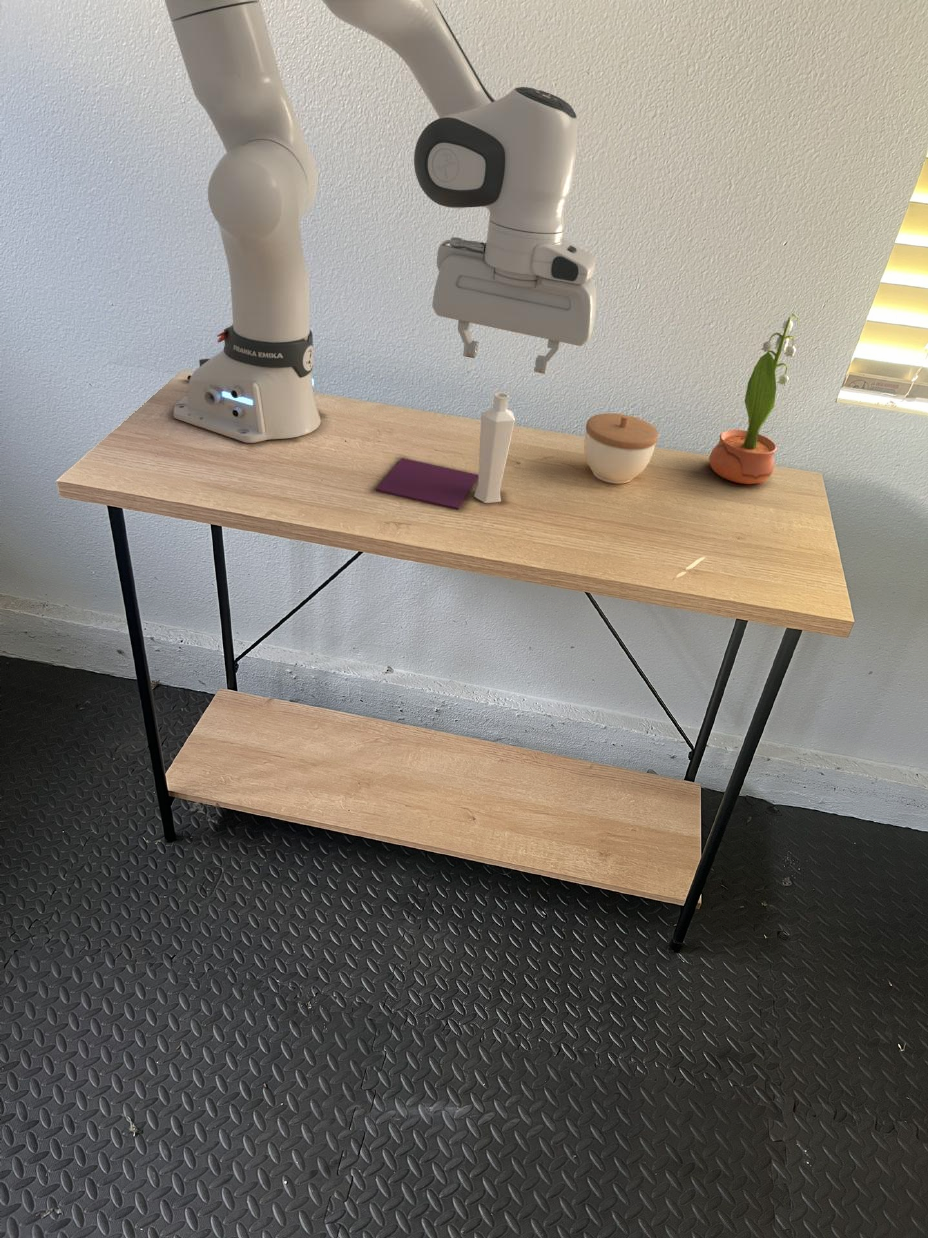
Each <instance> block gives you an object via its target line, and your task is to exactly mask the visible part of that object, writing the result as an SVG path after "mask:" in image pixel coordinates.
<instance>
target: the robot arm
mask: <svg viewBox="0 0 928 1238" xmlns="http://www.w3.org/2000/svg"><path fill="white" fill-rule="evenodd" d="M321 1H322V2H323V4H324V5H325V6H326V8H327V9H328V10H329V11H330V12H331V13H332V14H333V15H334V16H335V17H336V18H338V19H339V20H340V21H342V22H344V23H346V24H348V25H350V26H352V27H354V28H356V29H358V30H360V31H362V32H365V33H366V34H368V35H370V36H371V37H373V38H375V39H377V40H379V41H380V42H381V43H382V44H385V45H386V46H387V47H389V48H390V49H391V50H392V51H393V52H395V54H397V55H398V56H399V57H400V58H401V59H402V61H403V62H404V63H405V64H406V65H407V67H408V68H409V70H410V71H411V73H412V75H413V76H414V78H415V79H416V81H417V83H418V84H419V87H420V88H421V89H422V91H423V93H424V94H425V96H426V98H427V99H428V101H429V103H430V104H431V106H432V108H433V110H434V111H435V113H436V114H437V116H438V118H437V119H435V120H433V121H431V122H430V123H428V125H427V126H426V127H424V129H423V130H422V131H421V133H420V135H419V136H418V139H417V141H416V144H415V147H414V152H413V166H414V173H415V177H416V180H417V182H418V184H419V186H420V188H421V190H422V192H423V193H424V194H425V195H426V197H427V198H428V199H430V201H432V202H433V203H435V204H437V205H439V206H441V207H446V208H450V209H466V208H480V207H481V208H485V209H487V210H488V212H489V218H488V226H487V233H486V241H485V242H483V241H477V240H468V239H463V238H461V237H456V236H454V237H453V236H452V237H451V238H450V239H447V240H444V241H442V243H440V245H439V247H438V249H437V255H436V267H437V271H438V274H437V278H436V282H435V285H434V289H433V290H434V291H433V296H432V302H431V303H432V304H431V306H432V309H433V311H434V313H435V315H436V316H438V317H442V318H445V319H450V320H455V321H458V322H457V332H458V333H459V336H460V338H461V342H462V343H463V352H462V356H463V357H466V358H470V359H476V357H477V355H478V348H479V341H477V340H474V339H473V336H472V334H471V330H470V329H471V328H472V327H473V324H475V325H480V326H484V327H489V328H493V329H497V330H502V331H506V332H507V331H508V332H511V333H517V334H522V335H525V336H531V337H536V338H540V339H545V340H547V348H548V349H549V351H547V353H546V354H545V355H541V354H538V355H537V357H536V358H535V362H534V365H535V366H534V369H533V372H534V373H538V374H543V375H546V373H547V372H548V368H549V363H550V360H551V359H552V358H553V356H555V354H556V353H557V352H558V351H559V349H560V348H561V346H562V344H563V343H564V344H568V345H573V346H578V347H582V346H584V344H586V343H588V342H589V340H590V339H591V338H592V334H593V331H594V325H595V319H596V312H597V311H596V310H597V288H596V285H595V283H594V280H593V279H592V276H593V275H594V272H595V269H596V262H597V261H596V258H595V256H594V255H593V254H591V253H590V252H588V251H587V250H584V249H582V248H581V247H580V246H577V245H576V244H573V243H572V242H570V241H569V240H567V239H566V238H564V237H563V236H564V229H565V218H564V217H565V216H564V214H565V213H564V212H565V206H566V202H567V200H568V197H569V195H570V192H571V189H572V187H573V180H574V179H573V178H574V174H575V167H576V158H577V151H578V150H577V149H578V138H579V123H578V116H577V114H576V112H575V110H574V109H573V107H572V106H571V104H569V102H567V101H565V100H564V99H562V98H561V97H559V96H556V95H555V94H553V93H549V92H547V91H544V90H540V89H536V88H533V87H528V86H520V87H519V86H517V87H515V88H513V89H512V90H511V91H509V92H508V94H506V95H504V96H503V97H501V98H499V99H497V100H496V99H495V98H494V97H492V95H491V94H490V93H489V92H488V90H487V88H486V87H485V86H484V84H483V82H482V81H481V79H480V77H479V75H478V74H477V72H476V70H475V69H474V67H473V64H472V63H471V61H470V60H469V58H468V56H467V55H466V52H465V51H464V49H463V48H462V46H461V44H460V42H459V41H458V40H459V39H458V38H457V37H456V35H455V34H454V32H453V30H452V28H451V26H450V24H449V23H448V21H447V19H446V18H445V16H444V15H443V13H442V11H441V10H440V8H439V6H438V4H437V2H436V1H435V0H321ZM164 3H165V6H166V9H167V13H168V17H169V20H170V22H171V26H172V30H173V32H174V35H175V38H176V41H177V44H178V47H179V48H178V49H179V50H180V54H181V57H182V60H183V63H184V66H185V69H186V72H187V75H188V78H189V81H190V84H191V88H192V91H193V94H194V96H195V98H196V100H197V101H198V103H199V104H200V105H201V107H203V109H204V111H205V112H206V114H207V115H208V117H209V119H210V121H211V122H212V125H213V127H214V129H215V131H216V133H217V135H218V136H219V139H220V140H221V143H222V144H223V147H224V149H225V152H226V153H225V154H224V155H223V156H222V157H221V158H220V160H218V161H217V162H218V163H217V164H216V166H215V167H214V169H213V171H212V174H211V176H210V179H209V181H208V186H207V200H208V205H209V208H210V211H211V213H212V215H213V217H214V219H215V220H216V222H217V224H218V229H219V232H220V237H221V241H222V245H223V250H224V254H225V258H226V262H227V267H228V273H229V282H230V297H231V298H230V299H231V313H232V314H231V315H232V325H230V326H228V327H226V328H224V329H223V331H222V332H221V333H219V334H217V335H216V337H218V339H217V343H222V342H224V346H223V350H221V351H220V352H218V353H217V354H215V355H214V356H212V357H211V358H201V359H199V361H198V362H199V367H198V368H196V369H195V370H194V371H193V373H192V374H189V375H187V380H188V386H187V394H186V395H185V396H184V397H182V398H181V399H180V400H178V401H177V402H176V403H175V405H174V407H173V418H174V419H176V420H179V421H182V422H185V423H187V424H190V425H193V426H196V427H199V428H202V429H205V430H208V431H210V432H213V433H216V434H220V435H222V436H225V437H228V438H231V439H233V440H237V441H239V442H243V443H246V444H254V443H260V442H263V441H268V440H284V439H293V438H297V437H298V438H299V437H303V436H305V435H309V434H310V433H312V432H314V431H315V430H317V429H318V428H319V427H320V425H321V424H322V423H321V422H322V420H321V416H320V413H319V410H318V406H317V401H316V396H315V391H314V385H315V384H314V381H315V380H314V378H313V373H312V371H313V367H314V339H313V331H312V330H311V328H310V327H311V326H310V323H311V322H310V321H311V319H310V314H311V313H310V312H311V310H310V306H311V304H310V298H311V297H310V295H311V294H310V293H311V291H310V275H309V273H308V270H307V267H306V261H305V255H304V250H303V249H304V248H303V242H302V232H301V224H302V216H304V215H305V214H306V213H307V212H308V211H309V210H310V208H311V207H312V206H313V204H314V202H315V200H316V197H317V193H318V187H319V170H318V165H317V163H316V160H315V158H314V156H313V154H312V153H311V151H310V149H309V146H308V143H307V141H306V138H305V134H304V133H303V130H302V126H301V125H300V122H299V119H298V117H297V115H296V111H295V110H294V107H293V104H292V102H291V100H290V98H289V96H288V92H287V90H286V88H285V85H284V82H283V80H282V77H281V73H280V70H279V67H278V63H277V59H276V56H275V52H274V48H273V45H272V41H271V37H270V33H269V30H268V27H267V23H266V19H265V15H264V12H263V8H262V4H261V2H260V0H164ZM448 244H449V245H448Z"/></svg>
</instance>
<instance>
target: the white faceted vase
mask: <svg viewBox="0 0 928 1238" xmlns="http://www.w3.org/2000/svg"><path fill="white" fill-rule="evenodd" d="M509 399H510V395H509V393H506V392H500V391H497V392H495V393H493V401H492V402H493V404H492V407H491V408H488V409H487V410H485V411H483V412H482V413H480V433H479V434H480V436H479V456H478V475H479V476H478V479H477V480H478V481H477V488H476V490H475V493H474V494H473V496H474V498H476V499H477V500H479V501H480V502H482V503H483V504H491V503H500V502H501V501H502V500H501V499H502V497H501V486H502V483H503V477H504V472H505V467H506V464H507V459H508V454H509V449H510V445H511V440H512V436H513V431H514V426H515V422H516V419H515V414H514V412H513V411H511V410H510V409H508V404H509Z"/></svg>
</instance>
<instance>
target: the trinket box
mask: <svg viewBox="0 0 928 1238" xmlns="http://www.w3.org/2000/svg"><path fill="white" fill-rule="evenodd" d="M658 439H659V431H658V429H657V428H656V427H655V426H654V425H653V424H651V423H650V422H648V421H646V420H644V419H641V418H639V417H636V416H632V415H628V414H623V413H599V414H594V415H592V416H591V417H589V418H588V419H587V421H586V424H585V434H584V440H583V441H584V442H583V453H584V458H585V461H586V464H587V466H588V467H589V469H590V470H591V471H592V474H593V476H594V477H595V478H597V479H598V480H600V481H602V482H605V483H609V484H616V485H617V484H619V485H620V484H621V485H622V484H627V483H629V482H631V481H632V480H633V479H634V478H636V477H638V476H639V475H641V474H642V473H643V471H645V469H646V468H647V466H648V465H649V463H650V461H651V459H652V456H653V454H654V451H655V447H656V444H657V442H658Z"/></svg>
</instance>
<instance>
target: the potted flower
mask: <svg viewBox="0 0 928 1238" xmlns="http://www.w3.org/2000/svg"><path fill="white" fill-rule="evenodd" d="M793 316H794V317H796V320H797V326H799V323H800V319H799V317H798V315H797V314H795V313H791V315H790V316H789V317H788V318H787V320H785V321H783V323H782V326H781V329H783V333H782V334H781V333H780V332H774V333H773V334H771V336H770V338H769V340H767V341H764V342H763V344H762V348H761V350H762V351H763V353H765V354H763V355H762V356H760V357H759V359H758V361H757V363H756V364H755V365H754V366H753V367H754V368H753V370H752V372H751V375H750V377H749V380H748V382H747V386H746V391H745V396H744V405H745V408H746V413H747V419H748V426H747V430H745V429H729V430H725V431H722V432H721V433H720V435H719V441H718V443H717V444H716V445H715V446H714V447H713V449H712V450H711V452H710V454H709V457H708V462H709V464H710V468H711V469H712V471H713V472H714V473H716V474H717V475H718V476H719V477H721V478H723V479H724V480H727V481H730V482H733V483H736V484H742V485H754V484H760V483H764V482H765V481H766V480H768V479H769V478H770V477H771V476H772V475H773V474H774V469H775V459H774V454H775V452H776V451H777V449H778V447H777V445H776V443H775V442H774V441H773V440H772V439H771V438H769V437H767V436H765V435H762V434H760V431H761V429H762V427H763V425H764V424H765V423H766V421H767V420H768V418H769V416H770V414H771V413H772V411H773V409H774V408H775V401H776V393H777V384H779V385H782V386H783V385H784V386H787V385H788V382H789V380H790V378H789V376H788V375H787V371H788V364H787V363H786V362H780V363H779V360H780V358H781V355H782V352H783V354H784V355H785V357H791V358H794V356H795V353H796V349H797V348H796V347H795V346H794V344H795V337H794V336H793V335H791V334H790V335H787V334H788V332H791V330H792V328H793V325H794V322H793V321H792V317H793ZM774 336H777V339H776V341H775V344H773V342H772V341H771V340H772V338H773V337H774ZM789 339H791V341H792V344H791V345H788V344H789ZM774 346H775V347H774ZM772 348H773V349H774V350H776V352H775V351H774V350H773V349H772ZM773 356H774V357H773ZM783 365H784V366H785V372H784V374H781V375H780V376H779V377H778V381H777V379H776V371H777V368H778V367H780V366H783Z"/></svg>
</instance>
